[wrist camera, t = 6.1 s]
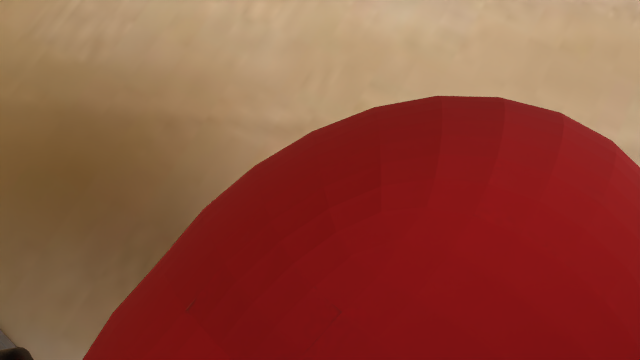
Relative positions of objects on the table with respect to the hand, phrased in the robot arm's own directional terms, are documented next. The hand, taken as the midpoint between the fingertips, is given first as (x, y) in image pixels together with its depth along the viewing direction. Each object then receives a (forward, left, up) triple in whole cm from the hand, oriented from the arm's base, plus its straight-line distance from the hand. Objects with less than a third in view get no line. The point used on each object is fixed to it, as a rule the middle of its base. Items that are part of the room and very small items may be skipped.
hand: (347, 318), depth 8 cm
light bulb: (-1, +1, -7) cm, 7 cm away
